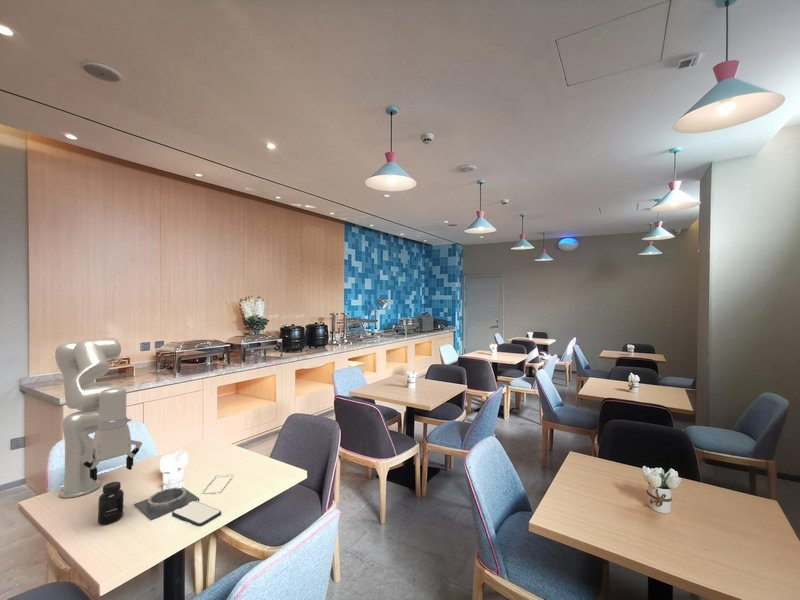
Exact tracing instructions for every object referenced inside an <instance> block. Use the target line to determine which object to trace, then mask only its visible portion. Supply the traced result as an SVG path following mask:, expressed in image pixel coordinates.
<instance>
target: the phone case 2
mask: <svg viewBox="0 0 800 600" xmlns="http://www.w3.org/2000/svg"><path fill="white" fill-rule="evenodd" d="M219 475H220V474H217V475H215V476H214V477H213V478H211V481H209V483H208V484H207V485H206V486H205V488H203V490H201V492H200V493H201V494H211V495H217V494H216V493H220V492H221V491H222V490H223V489H224V490H225V488H226V487H227V486H226V484H227V483H228V482H229V480H230V479H231V478H232V476H233V477H234V473H232V474H231V473H230V474H229V473H228V474H227V476H230V475H232V476H231V477H229V479H228V480H227V481H226V482H225V484H224V485H223V487H222V488H221V489H220V490H219V491H206V489H207V488H209V487H210V486H209V484H210V483H211V482H212V481H213V480H214V478H215V477H216V476H219ZM219 477H220V476H219ZM232 479H233V478H232ZM232 479H231V480H232ZM231 480H230V481H231ZM214 481H215V480H214ZM214 481H213V482H214ZM213 482H212V483H213ZM212 483H211V484H212ZM229 483H230V482H229ZM229 483H228V484H229ZM211 484H210V485H211ZM228 484H227V485H228ZM208 486H209V487H208ZM225 486H226V487H225ZM224 487H225V488H224ZM224 490H223V491H224ZM223 491H222V492H223ZM222 492H221V493H222ZM221 493H220V494H221ZM201 494H200V495H201Z"/></svg>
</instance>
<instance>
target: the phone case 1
mask: <svg viewBox="0 0 800 600" xmlns="http://www.w3.org/2000/svg"><path fill="white" fill-rule="evenodd" d="M221 515H222V511H221V510H220V509H217V508H215V507H212V506H209V505H207V504H204V503H201V502H199V501H192V502H189V503H187V504H186V505H184V506H182V507H180V508H178V509H176V510H174V511H172V512H171V516H172V517H174V518H175V519H178V520H181V521H184V522H185V521H186V522H185V523H188V522H189V523H188V524H190V523H191V525H193V526H195V525H196V526H195V527H198V526H199V527H202V526H205V525H206V524H208V523H210V522H211V521H213V520H215V519H217V518H218V517H220V516H221Z"/></svg>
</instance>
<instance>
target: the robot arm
mask: <svg viewBox="0 0 800 600" xmlns="http://www.w3.org/2000/svg"><path fill="white" fill-rule="evenodd" d="M121 353H122V345H121V343H120V342H119V341H118V340H117V339H115V338H99V339H98V338H97V339H95V338H94V339H85V340H81V341H72V342H71V341H70V342H66V343H62V344H59V345H58V346H57V347H56V349H55V353H54V354H55V355H54V357H55V362H56V364H57V367H58V369H59V371H60V373H61V374H62V377H63V385H64V386H63V387H64V398H65V404H66V406H67V408H69V409H74V410H75V409H76V410H77V411H75V412H72V413H70V414H68V415H66V416H65V417H64V418H63V421H62V423H61V424H62V432H63V438H64V475H63V477H64V482H63V483H64V484H63V488H62V489H60V490H59V491H58V497H60V498H64V499H69V498H76V497H80V496H84V495H87V494H89V493H92V492H94V491H95V490H98V489H99V488H100V487H101V484H102V483H101V482H102V481H101V480H98V468H97V466H98V464H99V463H101V462H104V461H107V460H110V459H111V460H112V459H115V458H118V457H121V456H125V455H127V456H126V459H125V460H126V465H125V466H126V469H127V470H128V471H130V470H132V469H133V467H134V458H135V457H136V455H137V454H138V452H139V451H140V449H141V447H142V445H143V442H142V441H138V440H135V439H134V440H133V439H132V438H131V432H130V431H131V429H130V427H129V424H128V423H129V422H131V421H132V417H130V416H129V417H128V416H127V389H126V388H124V387H123V386H122V385H120V384H113V383H112V382H111V381H99V382H93V381H96V380H97V379H100V378H101V377H103V376H105V375H106V374H107V373H108V371H109V370H110V364H109V361H108V360H114V359H117V358H119V357H120V356H121ZM93 433H94V435H93V438H92V437H91V436H89V435H91V434H93ZM132 445H134V448H133V449H132ZM131 450H132V451H131Z"/></svg>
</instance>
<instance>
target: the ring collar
mask: <svg viewBox="0 0 800 600" xmlns="http://www.w3.org/2000/svg"><path fill="white" fill-rule="evenodd" d="M197 500H199V501H200V497H198V496H196V495H195V494H194V493H192V492H190V491H189V490H188V489H186V488H184V487H183V486H182V488H178V487H171V488H165V489H162V490H159V491H157V492H155V493H154V494H152V495H150V496H149V497H148V498H146V499H143V500H141V501H138V502H136V503H134V507H135V508H136V509H138V510H139V511H140V512H141V513H142V514H143V515H144V516H145V517H146V518H147V519H149V521H153V520H155V519H159V518H160V517H162V516H165V515H168V514H170V513H172V512H173V511H174V510H176V509H178V508H180V507H182V506H184V505H186V504H187V503H189V502H192V501H197ZM197 502H198V501H197Z"/></svg>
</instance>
